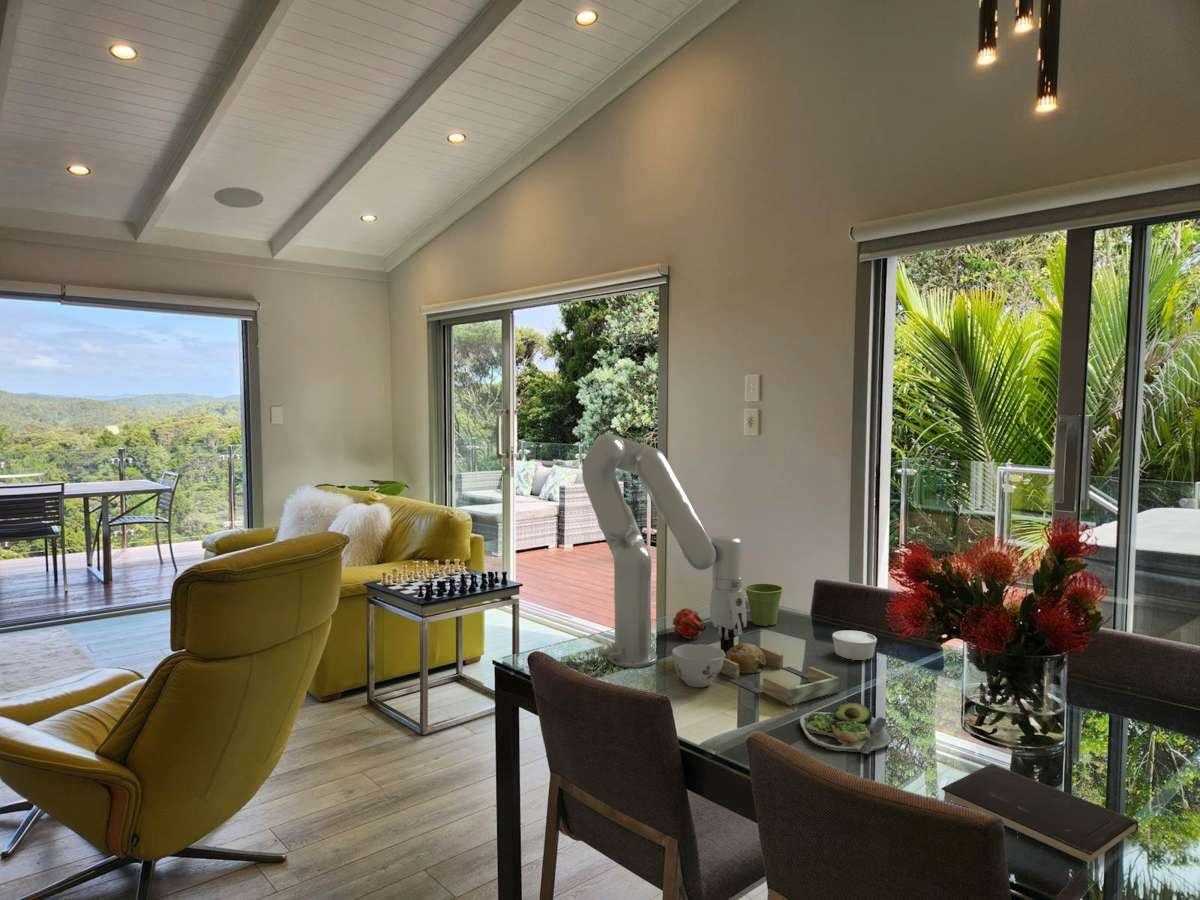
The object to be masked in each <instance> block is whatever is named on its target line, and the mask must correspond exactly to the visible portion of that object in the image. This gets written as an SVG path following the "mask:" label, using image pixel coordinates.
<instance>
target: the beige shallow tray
mask: <svg viewBox="0 0 1200 900" xmlns="http://www.w3.org/2000/svg"><path fill="white" fill-rule="evenodd" d="M758 648H759V649H760V650H761V651H762V652H763V654H764V655H765V658H766V665H769V666H770V667H771V666H772V667H774V668H776V669H778V670H782V669H783V670H785V671H787V672H790V673H792V674H795V675H796V676H798V677H801V678H804V679H806V678H807V679H806V680H808V681H807V682H809V683H805V684H804V683H803V684H801V685H796V686H792V687H790V686H788V685H785V684H783V683H781V682H779V681H777V680H774V679H773V678H771V677H768V676H765V677H763V678H762V679H763V680H762V690H761V689H758V688H757V687H754V686H753V685H751V684H749V683H746V682H745V681H743V680H741V679H740V672H739V664H737V663H735V662H733V661H731V660H729V659H726V658H724V660H723V665H722V668H721V670H720V672H719V673H723V674H725V675H726V676H729V677H731V679H729V680H728V681H729V682H730V683H733V684H735V685H738V686H739V687H742V688H744V689H746V690H747V691H750V692H752V693H754V694H756V695H757V694H762V693H764V694H765V695H768V696H769V697H772V698H774V699H776V700H778V701H781V702H782V703H784V704H787V705H788V706H793V705H792V704H794V705H796V704H795V703H798V702H802V701H806V700H808V699H812V698H815V697H818V696H822V695H825V694H828V693H832V692H836V691H839V692H840V687H841V686H840V684H841V681H840V679H841V678H840V677H838V676H836V675H833V674H830V673H828V672H826V671H823V670H821V669H818V668H816V667H814V666H808V668H807V669H808V673H805V672H803V671H801V670H798V669H796V668H794V667H793V668H792V667H791V666H785V667H784V655H783V654H781V653H779V652H777V651H774V650H772V649H769V648H767V647H765V646H759V647H758ZM810 682H811V683H810ZM806 702H807V701H806ZM802 703H803V702H802ZM798 704H799V703H798Z"/></svg>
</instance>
